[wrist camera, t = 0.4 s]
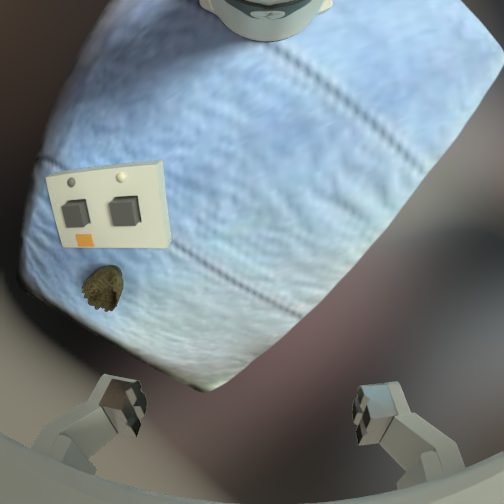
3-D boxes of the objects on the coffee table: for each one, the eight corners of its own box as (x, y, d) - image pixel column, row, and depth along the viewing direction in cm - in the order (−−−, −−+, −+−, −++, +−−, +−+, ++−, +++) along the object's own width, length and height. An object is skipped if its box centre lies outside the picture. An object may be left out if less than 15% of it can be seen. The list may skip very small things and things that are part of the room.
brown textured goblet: (132, 259, 53) (115, 284, 46) (132, 290, 57) (118, 316, 50) (98, 251, 52) (78, 274, 46) (100, 281, 56) (83, 306, 49)
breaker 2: (117, 196, 45) (108, 203, 42) (138, 194, 45) (131, 201, 42) (121, 218, 47) (113, 226, 44) (142, 217, 47) (135, 226, 44)
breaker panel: (54, 172, 44) (44, 178, 41) (162, 160, 44) (155, 165, 41) (70, 240, 51) (61, 248, 48) (171, 239, 51) (166, 249, 48)
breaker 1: (70, 199, 45) (61, 206, 42) (88, 198, 45) (78, 205, 42) (75, 220, 47) (66, 227, 44) (92, 219, 47) (83, 227, 44)
